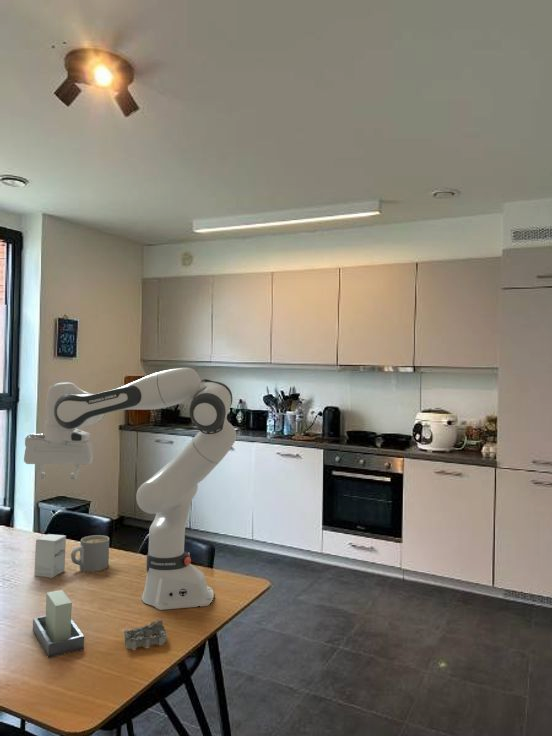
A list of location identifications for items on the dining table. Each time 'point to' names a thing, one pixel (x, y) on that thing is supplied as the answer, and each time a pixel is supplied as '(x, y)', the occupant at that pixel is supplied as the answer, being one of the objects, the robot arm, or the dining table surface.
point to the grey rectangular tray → (62, 645)
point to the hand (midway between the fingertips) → (58, 478)
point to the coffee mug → (92, 553)
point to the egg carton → (147, 631)
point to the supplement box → (50, 555)
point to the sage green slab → (58, 616)
